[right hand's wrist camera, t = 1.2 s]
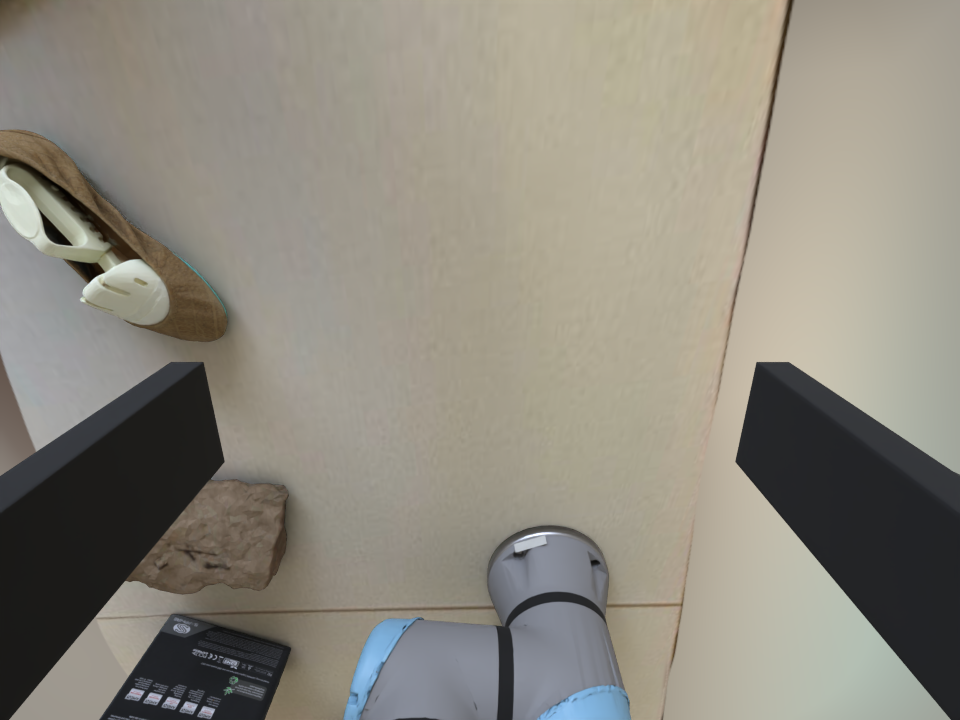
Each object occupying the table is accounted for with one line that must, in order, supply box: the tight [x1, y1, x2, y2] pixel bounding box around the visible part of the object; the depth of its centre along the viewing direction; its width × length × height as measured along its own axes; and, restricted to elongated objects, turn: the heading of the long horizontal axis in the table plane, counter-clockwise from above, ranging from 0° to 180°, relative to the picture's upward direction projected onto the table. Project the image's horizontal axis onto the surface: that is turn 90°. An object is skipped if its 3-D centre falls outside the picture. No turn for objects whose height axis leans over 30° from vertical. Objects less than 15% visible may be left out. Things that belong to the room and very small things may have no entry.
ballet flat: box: [0, 130, 227, 342], centre depth 47 cm, size 8×24×9 cm, turn 36°
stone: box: [125, 479, 288, 594], centre depth 61 cm, size 21×15×6 cm
